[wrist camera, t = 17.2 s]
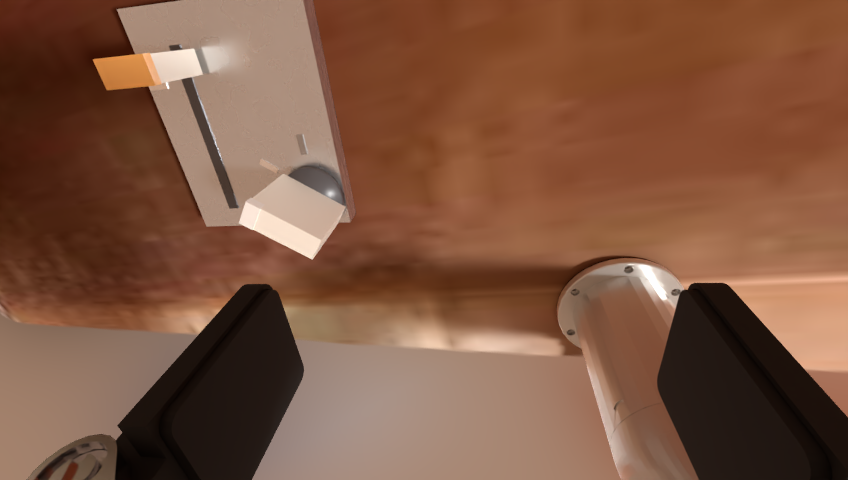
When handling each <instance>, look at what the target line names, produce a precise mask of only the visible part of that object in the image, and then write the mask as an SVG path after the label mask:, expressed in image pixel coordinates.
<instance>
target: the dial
mask: <svg viewBox="0 0 848 480" xmlns="http://www.w3.org/2000/svg"><path fill="white" fill-rule="evenodd" d="M344 209H345V206H344V194H343V191H342V188H341V186H340V185H339V183H338V182H337V180H336V179H335V178H334V177H333V176H332V175H330V174H329V173H328V172H326V171H324V170H322V169H320V168H316V167H310V166H307V167H301V168H298V169H296V170H294V171H293V172H291V173H290V174H289V175H288V176H287V175H285V174H282V175H281V176H280V177H278V178H277V179H276V180H275V181H273V182H272V183H271V184H270V185H268V186H267V187H266V188H264V189H263V190H262V191H261V192H259V193H258V194H257V195H256V196H254V197H253V198H250V199H248V200H247V201H246V202H245V205H244V208H243V211H242V215H241V218H240V221H239V224H241V225H243V226H245V227H247V228H249V229H251V230H255V231H257V232H259V233H261V234H263V235H265V236H267V237H269V238H271V239H273V240H275V241H277V242H279V243H281V244H283V245H285V246H287V247H289V248H291V249H293V250H295V251H297V252H299V253H301V254H302V255H304V256H306V257H308V258H310V259H312V260H313V258H314V257H315V255H316V254H317V252H318V251H319V250H320V248H321V247H322V245H323V244H324V243H325V241H326V240H327V238H328V237H329V235H330V234H331V233H332V231H333V230H334V228H335V227H336V225H337V224H338V222H339V220H340V218H341V216H342V214H343V211H344Z"/></svg>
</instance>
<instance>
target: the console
mask: <svg viewBox="0 0 848 480" xmlns="http://www.w3.org/2000/svg"><path fill="white" fill-rule="evenodd" d="M117 11H118V14H119V16H120V19H121V21H122V23H123V26H124V28H125V31H126V33H127V36H128V38H129V40H130V43H131V45H132V48H133V50H134V52H135V54H143V53H159V52H168V51H177V50H185V49H194V50H195V53H196V55H197V58H198V61H199V64H200V67H201V70H202V73H203V75H199V76H194V77H189V78H185V79H180V80H175V81H171V82H166V83H162V84H160V85H156V86H149V89H150V91H151V93H152V96H153V98H154V101H155V103H156V106H157V108H158V110H159V113H160V115H161V118H162V120H163V122H164V125H165V127H166V130H167V132H168V135H169V137H170V139H171V142H172V144H173V147H174V149H175V151H176V154H177V156H178V159H179V161H180V164H181V166H182V168H183V171H184V173H185V176H186V178H187V180H188V183H189V185H190V188H191V190H192V193H193V195H194V197H195V200H196V202H197V205H198V207H199V209H200V212H201V214H202V217H203V219H204V221H205V224H206V226H238V225H241V224H239V221H240V218H241V215H242V211H243V208H244V205H245V202H246V201H247V200H248V199H250V198H253V197H254V196H256V195H257V194H258V193H259V192H261V191H262V190H263V189H264V188H266V187H267V186H268V185H270V184H271V183H272V182H273V181H275V180H276V179H277V178H278V177H280V176H281V175H282V174H285V175H287V176H288V175H289V174H290V173H291V172H293V171H294V170H296V169H298V168H301V167H307V166H310V167H316V168H320V169H322V170H324V171H326V172H328V173H329V174H330V175H332V176H333V177H334V178H335V179H336V180H337V182H338V183H339V185H340V186H341V188H342V191H343V194H344V206H345V209H344V211H343V214H342V216H341V218H340V220H339V222H351V220H352V219H353V217H354V216H355V214H356V211H355V206H354V201H353V196H352V191H351V186H350V181H349V176H348V171H347V166H346V161H345V156H344V152H343V147H342V142H341V137H340V132H339V127H338V122H337V117H336V112H335V107H334V102H333V97H332V92H331V87H330V83H329V78H328V73H327V68H326V63H325V58H324V53H323V48H322V43H321V38H320V33H319V28H318V23H317V18H316V13H315V9H314V4H313V0H180V1H173V2H165V3H158V4H151V5H144V6H136V7H129V8H122V9H117Z"/></svg>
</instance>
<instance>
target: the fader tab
mask: <svg viewBox="0 0 848 480" xmlns="http://www.w3.org/2000/svg"><path fill="white" fill-rule="evenodd" d="M93 62H94V64H95V66H96V68H97V70H98V72H99V74H100V77H101V79H102V81H103V83H104V85H105V87H106V90H115V89H126V88H136V87H146V86H156V85H160V84H162V83H166V82H171V81H175V80H180V79H185V78H189V77H194V76H199V75H203V73H202V70H201V67H200V64H199V61H198V58H197V55H196V53H195V50H194V49H185V50H177V51H168V52H159V53H143V54H135V55H126V56H117V57H108V58H100V59H93Z"/></svg>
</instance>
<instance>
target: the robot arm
mask: <svg viewBox="0 0 848 480" xmlns="http://www.w3.org/2000/svg"><path fill="white" fill-rule="evenodd" d="M557 318H558V322H559V326H560V328H561V330H562V332H563V334H564V335H565V336H566V338H567V339H568V340H569V341H570V342H572V343H573V344H574V345H575V346H577V347H579V348H581V349H582V352H583V355H584V359H585V362H586V365H587V369H588V373H589V376H590V380H591V383H592V386H593V390H594V393H595V397H596V400H597V404H598V407H599V410H600V414H601V417H602V421H603V424H604V428H605V431H606V435H607V438H608V442H609V445H610V448H611V452H612V455H613V458H614V462H615V465H616V468H617V470H618V473H619V475H620V477H621V479H622V480H848V417H847V416H846V415H845V414H844V413H843V412H842V411H841V410H840V408H839V407H838V406H837V405H836V404H835V403H834V402H833V401H832V399H831V398H830V397H829V396H828V395H827V394H826V393H825V392H824V391H823V389H822V388H821V387H820V386H819V385H818V384H817V383H816V382H815V381H814V380H813V378H812V377H811V376H810V375H809V374H808V373H807V372H806V371H805V370H804V368H803V367H802V366H801V365H800V364H799V363H798V362H797V361H796V360H795V358H794V357H793V356H792V355H791V354H790V353H789V352H788V351H787V350H786V348H785V347H784V346H783V345H782V344H781V343H780V342H779V341H778V340H777V338H776V337H775V336H774V335H773V334H772V333H771V332H770V331H769V330H768V329H767V327H766V326H765V325H764V324H763V323H762V322H761V321H760V320H759V319H758V317H757V316H756V315H755V314H754V313H753V312H752V311H751V310H750V309H749V307H748V306H747V305H746V304H745V303H744V302H743V301H742V300H741V299H740V297H739V296H738V295H737V294H736V293H735V292H734V291H733V290H732V289H731V287H729V286H728V285H727V284H725V283H693V284H691V285H690V286H689V288H688V290H684V288H683V286H682V285H681V283H680V282H679V280H678V279H677V278H676V277H675V276H674V275H673V274H672V273H671V272H670V271H669V270H668V269H666V268H664V267H663V266H661V265H659V264H657V263H654V262H651V261H648V260H643V259H638V258H620V259H612V260H608V261H604V262H600V263H597V264H595V265H593V266H591V267H588V268H586V269H585V270H583V271H582V272H580V273H579V274H577V275H576V276H575V277H574V278H573V279H571V280H570V281H569V282H568V284H567V285H566V286H565V288H564V289H563V290H562V292H561V295H560V297H559V299H558V304H557ZM303 372H304V367H303V363H302V360H301V357H300V355H299V351H298V349H297V346H296V343H295V340H294V337H293V334H292V331H291V328H290V325H289V323H288V320H287V317H286V314H285V311H284V308H283V305H282V302H281V300H280V297H279V294H278V292H277V291H276V290H273V289H272V287H271V286H270V285H267V284H246V285H244V286H242V287H241V288H240V289H239V290H238V291H237V293H236V294H235V295H234V296H233V297H232V298H231V299H230V300H229V301H228V303H227V304H226V305H225V306H224V307H223V308H222V309H221V310H220V312H219V313H218V314H217V315H216V316H215V317H214V318H213V319H212V320H211V322H210V323H209V324H208V325H207V326H206V327H205V328H204V329H203V330H202V332H201V333H200V334H199V335H198V336H197V337H196V338H195V340H194V341H193V342H192V343H191V344H190V345H189V346H188V347H187V349H185V351H184V352H183V353H182V354H181V355H180V356H179V357H178V358H177V360H176V361H175V362H174V363H173V364H172V365H171V366H170V367H169V368H168V370H167V371H166V372H165V373H164V374H163V375H162V376H161V378H160V379H159V380H158V381H157V382H156V383H155V384H154V385H153V386H152V388H151V389H150V390H149V391H148V392H147V393H146V394H145V395H144V397H143V398H142V399H141V400H140V401H139V402H138V403H137V404H136V405H135V406H134V408H133V409H132V410H131V411H130V412H129V413H128V415H126V417H125V418H124V419H123V420H122V421H121V422H120V423H119V424H118V427H119V428H120V430H121V431H122V432H123V433H122V434H121V435H120V436H119V437H118V439H117V440H115V439H113V438H112V437H111V436H109V435H103V434H98V435H92V436H87V437H85V438H82V439H79V440H76V441H74V442H72V443H70V444H68V445H67V446H65V447H63V448H61V449H60V450H58V451H57V452H55V453H54V454H53V455H51V456H50V457H48V458H47V459H46V460H45V461H44V462H43V463H42V464H40V465H39V466H38V467H37V468H36V469H35V470H34V471H33V472H32V474H31V475H30V476H29V477H28V479H27V480H252V478H253V476H254V474H255V472H256V470H257V468H258V466H259V464H260V462H261V460H262V458H263V456H264V454H265V452H266V450H267V448H268V446H269V444H270V442H271V440H272V438H273V436H274V434H275V432H276V430H277V428H278V426H279V424H280V422H281V420H282V418H283V416H284V414H285V412H286V410H287V408H288V406H289V404H290V402H291V400H292V398H293V396H294V394H295V392H296V390H297V388H298V386H299V384H300V382H301V380H302V377H303Z"/></svg>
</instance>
